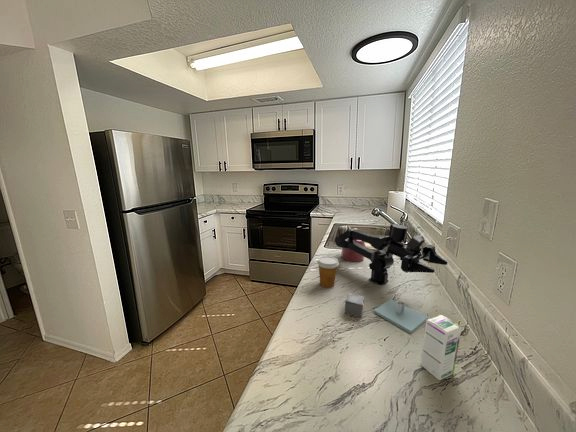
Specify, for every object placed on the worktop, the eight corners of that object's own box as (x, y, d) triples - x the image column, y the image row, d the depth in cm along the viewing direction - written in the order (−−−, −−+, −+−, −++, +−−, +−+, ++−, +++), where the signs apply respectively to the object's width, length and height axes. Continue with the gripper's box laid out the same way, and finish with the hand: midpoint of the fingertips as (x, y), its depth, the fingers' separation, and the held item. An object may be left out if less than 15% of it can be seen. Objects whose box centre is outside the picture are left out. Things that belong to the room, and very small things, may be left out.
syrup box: (439, 381, 61) (448, 333, 58) (419, 364, 67) (426, 318, 63) (454, 373, 64) (463, 326, 60) (433, 357, 69) (440, 313, 66)
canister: (360, 263, 131) (363, 232, 127) (337, 258, 137) (340, 228, 133) (366, 256, 141) (369, 227, 138) (345, 251, 148) (347, 224, 144)
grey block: (344, 313, 89) (345, 301, 88) (347, 304, 94) (348, 293, 93) (361, 317, 86) (362, 305, 85) (363, 308, 92) (364, 296, 91)
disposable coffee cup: (339, 281, 112) (341, 257, 109) (334, 291, 103) (336, 266, 101) (320, 277, 116) (321, 254, 113) (313, 286, 107) (314, 262, 105)
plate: (373, 312, 89) (373, 309, 89) (391, 301, 96) (391, 299, 96) (410, 333, 78) (411, 330, 78) (427, 319, 85) (428, 317, 85)
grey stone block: (395, 312, 87) (396, 303, 87) (398, 310, 89) (400, 300, 88) (400, 315, 86) (401, 305, 85) (403, 312, 87) (405, 303, 87)
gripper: (390, 239, 93) (430, 255, 81) (417, 228, 103) (457, 241, 90) (387, 264, 97) (425, 283, 85) (413, 251, 106) (451, 266, 94)
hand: (440, 267), depth 88 cm, fingers open, 9 cm apart
